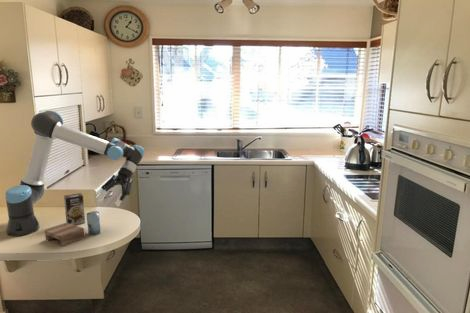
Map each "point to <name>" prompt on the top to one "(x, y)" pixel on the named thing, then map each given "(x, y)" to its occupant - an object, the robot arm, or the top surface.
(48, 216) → the top surface
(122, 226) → the top surface
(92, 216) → the clear cup
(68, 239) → the walnut shelf
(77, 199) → the coffee box
